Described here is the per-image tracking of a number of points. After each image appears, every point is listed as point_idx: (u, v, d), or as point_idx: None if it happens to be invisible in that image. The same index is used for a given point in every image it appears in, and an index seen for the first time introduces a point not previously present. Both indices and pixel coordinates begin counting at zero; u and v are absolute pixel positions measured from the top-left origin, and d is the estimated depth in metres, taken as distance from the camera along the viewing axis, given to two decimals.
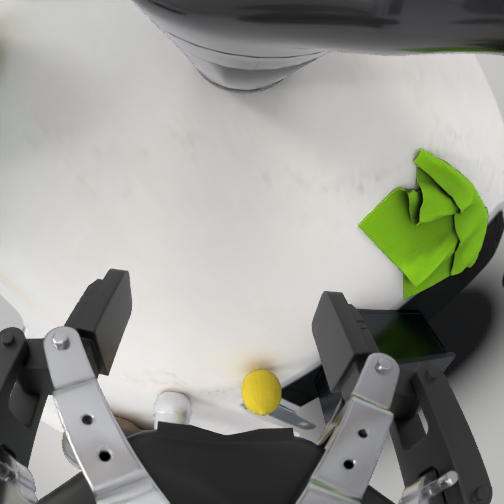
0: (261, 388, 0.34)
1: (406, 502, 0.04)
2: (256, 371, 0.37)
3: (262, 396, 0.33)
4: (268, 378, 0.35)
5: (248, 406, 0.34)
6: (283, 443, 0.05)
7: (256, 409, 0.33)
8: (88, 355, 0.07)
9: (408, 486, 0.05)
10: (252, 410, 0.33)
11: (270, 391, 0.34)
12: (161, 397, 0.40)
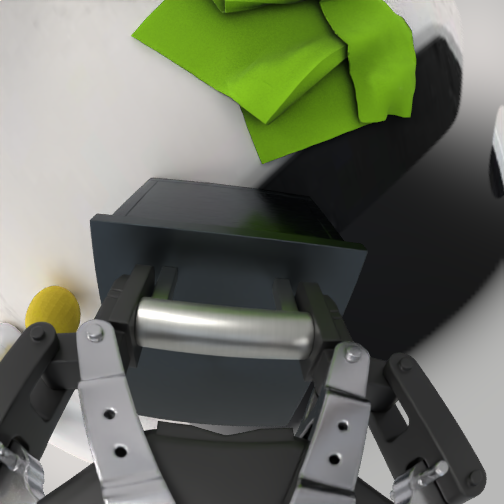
0: (36, 303, 0.19)
1: (398, 495, 0.05)
2: (50, 286, 0.22)
3: (33, 314, 0.19)
4: (53, 293, 0.21)
5: None
6: (283, 443, 0.05)
7: None
8: (121, 347, 0.08)
9: (397, 479, 0.05)
10: None
11: (44, 309, 0.19)
12: None
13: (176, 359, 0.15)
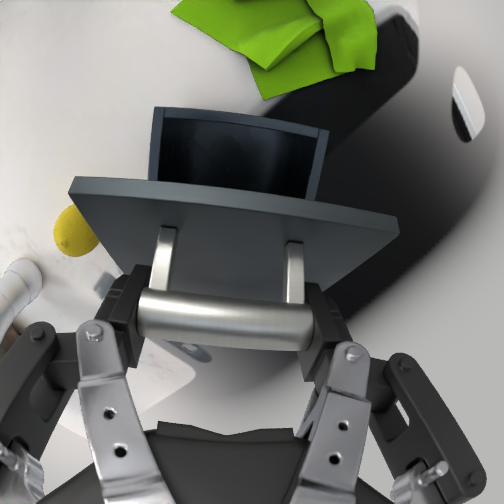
0: (68, 210, 0.24)
1: (398, 495, 0.05)
2: None
3: (64, 217, 0.24)
4: None
5: (54, 236, 0.24)
6: (283, 443, 0.05)
7: (56, 237, 0.23)
8: (120, 347, 0.08)
9: (397, 479, 0.05)
10: (56, 241, 0.24)
11: (76, 213, 0.24)
12: None
13: (184, 277, 0.16)
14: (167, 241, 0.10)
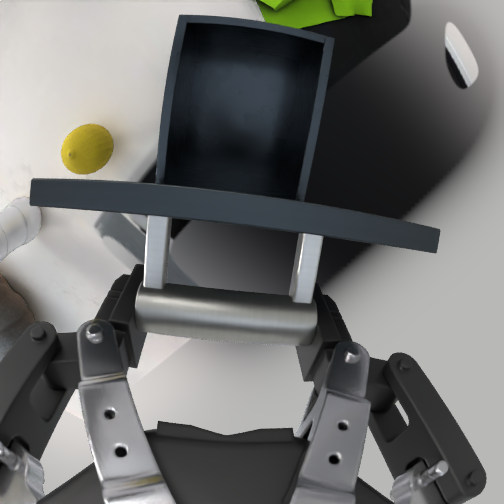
0: (79, 127, 0.23)
1: (398, 495, 0.05)
2: None
3: (75, 131, 0.22)
4: (95, 124, 0.24)
5: (61, 152, 0.23)
6: (283, 443, 0.05)
7: (64, 150, 0.22)
8: (121, 347, 0.08)
9: (397, 479, 0.05)
10: (63, 156, 0.22)
11: (87, 128, 0.23)
12: None
13: None
14: (158, 231, 0.09)
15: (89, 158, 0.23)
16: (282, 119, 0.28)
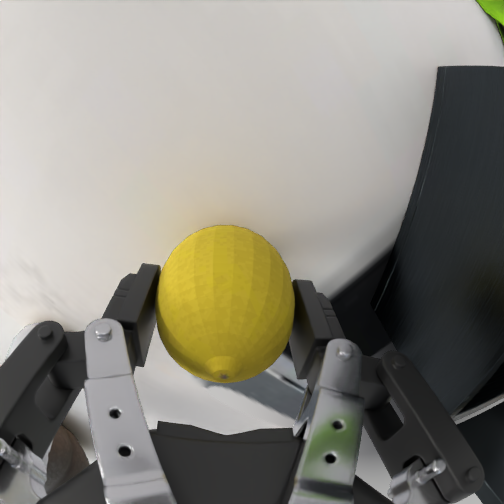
0: (215, 257, 0.09)
1: (396, 494, 0.05)
2: None
3: (216, 286, 0.08)
4: (247, 234, 0.11)
5: (165, 339, 0.09)
6: (283, 443, 0.05)
7: (190, 351, 0.08)
8: (129, 346, 0.08)
9: (394, 478, 0.05)
10: (180, 357, 0.09)
11: (253, 270, 0.09)
12: (20, 331, 0.15)
13: None
14: None
15: (272, 363, 0.09)
16: None
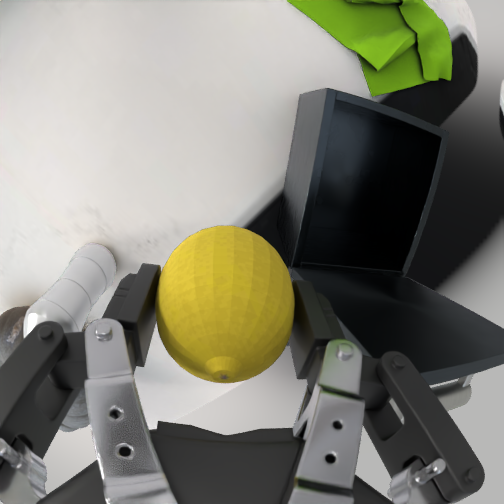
0: (215, 257, 0.09)
1: (396, 494, 0.05)
2: None
3: (216, 286, 0.08)
4: (247, 235, 0.11)
5: (165, 339, 0.09)
6: (283, 443, 0.05)
7: (190, 351, 0.08)
8: (129, 346, 0.08)
9: (394, 478, 0.05)
10: (180, 357, 0.09)
11: (253, 271, 0.09)
12: None
13: None
14: None
15: (272, 363, 0.09)
16: (377, 182, 0.31)
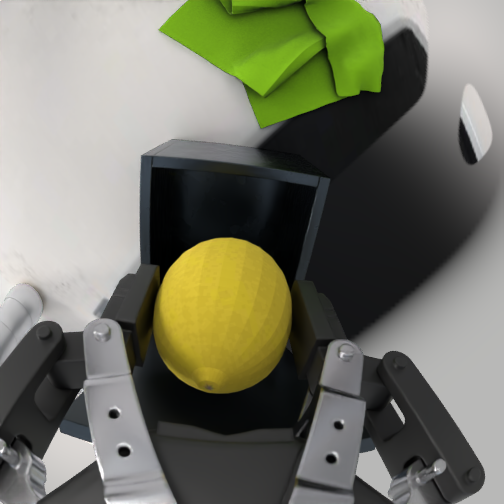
0: (223, 271, 0.09)
1: (397, 494, 0.05)
2: None
3: (219, 300, 0.08)
4: (258, 253, 0.11)
5: (159, 339, 0.09)
6: (283, 443, 0.05)
7: (181, 356, 0.08)
8: (128, 346, 0.08)
9: (395, 478, 0.05)
10: (169, 360, 0.09)
11: (257, 291, 0.09)
12: (13, 287, 0.30)
13: None
14: None
15: (257, 382, 0.09)
16: (270, 229, 0.30)
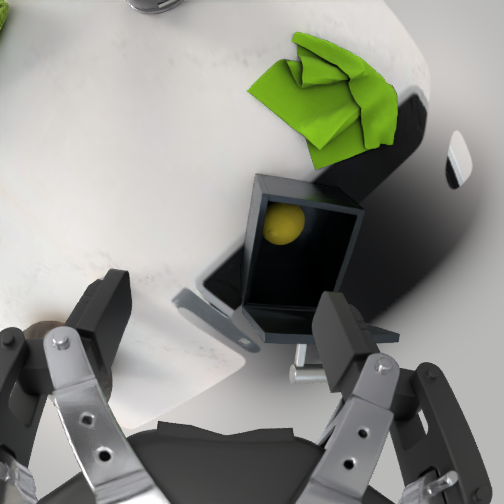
0: (282, 207, 0.35)
1: (406, 502, 0.04)
2: None
3: (279, 212, 0.34)
4: (295, 205, 0.36)
5: None
6: (283, 443, 0.05)
7: (266, 225, 0.34)
8: (88, 355, 0.07)
9: (408, 486, 0.05)
10: (263, 227, 0.35)
11: (290, 213, 0.34)
12: None
13: None
14: (303, 346, 0.23)
15: (286, 240, 0.35)
16: (317, 236, 0.43)
